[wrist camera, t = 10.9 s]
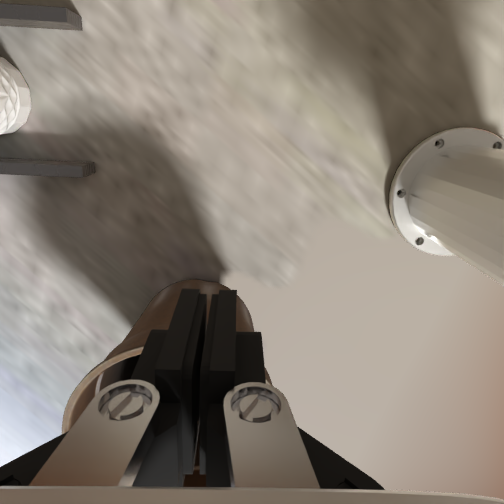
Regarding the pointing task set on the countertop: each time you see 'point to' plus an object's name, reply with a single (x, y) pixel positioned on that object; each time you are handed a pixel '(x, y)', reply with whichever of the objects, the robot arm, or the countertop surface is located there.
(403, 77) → the countertop surface
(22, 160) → the bracket
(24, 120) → the white cup
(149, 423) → the robot arm
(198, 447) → the plant pot
